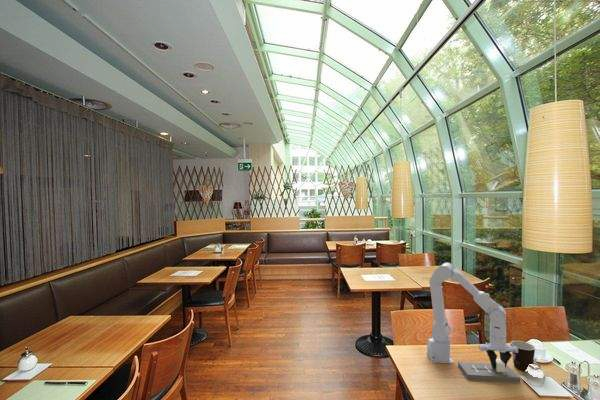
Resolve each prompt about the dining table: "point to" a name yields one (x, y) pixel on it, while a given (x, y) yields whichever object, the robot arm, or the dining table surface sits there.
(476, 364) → the slider panel
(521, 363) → the coffee mug
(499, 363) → the slider knob
